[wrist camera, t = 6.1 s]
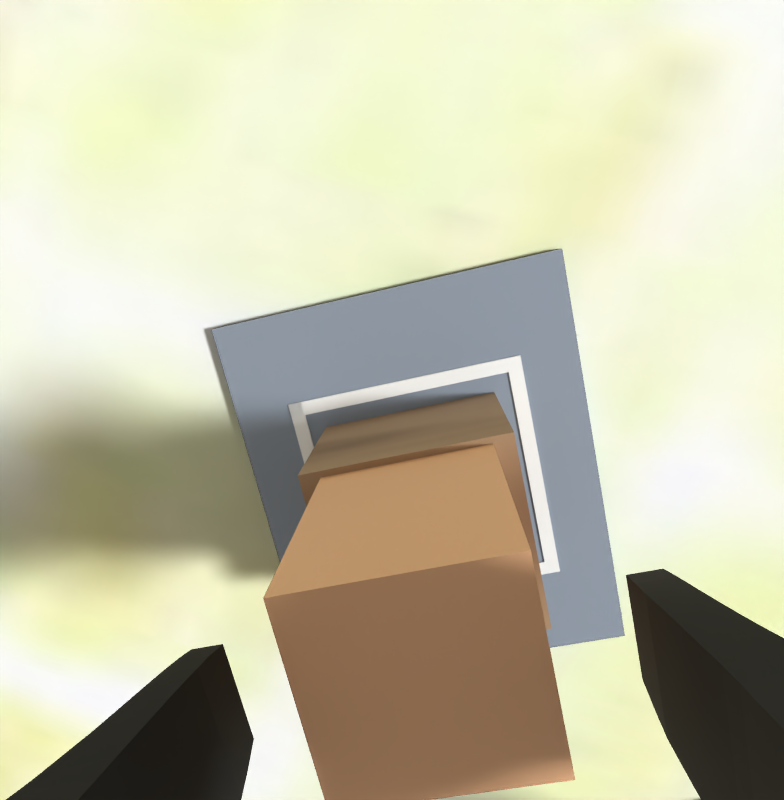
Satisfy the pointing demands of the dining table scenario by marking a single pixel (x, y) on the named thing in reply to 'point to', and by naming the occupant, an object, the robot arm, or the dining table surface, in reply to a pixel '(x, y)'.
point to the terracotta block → (418, 634)
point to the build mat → (433, 384)
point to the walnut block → (425, 449)
